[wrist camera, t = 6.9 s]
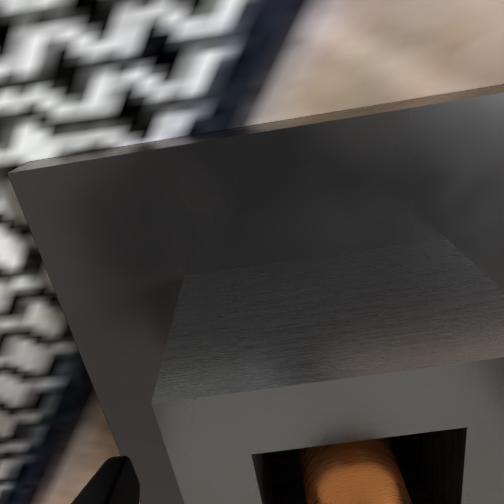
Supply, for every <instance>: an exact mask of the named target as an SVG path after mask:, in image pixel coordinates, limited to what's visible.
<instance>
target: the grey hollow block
mask: <svg viewBox="0 0 504 504" xmlns="http://www.w3.org/2000/svg"><path fill="white" fill-rule="evenodd" d="M151 405H152V408H153V411H154V414H155V417H156V420H157V423H158V426H159V429H160V432H161V435H162V438H163V441H164V444H165V447H166V450H167V453H168V456H169V459H170V462H171V465H172V468H173V471H174V474H175V477H176V480H177V483H178V485H179V488H180V491H181V494H182V497H183V500H184V503H185V504H307V503H306V496H305V489H304V482H303V475H302V467H301V460H300V453H299V448H306V447H314V446H322V445H330V444H338V443H346V442H354V441H362V440H370V439H378V438H386V437H388V440H389V443H390V445H391V448H392V451H393V454H394V456H395V459H396V462H397V464H398V467H399V470H400V472H401V475H402V478H403V480H404V483H405V486H406V488H407V491H408V494H409V497H410V499H411V502H412V504H504V292H503V291H502V290H501V289H500V288H499V287H498V286H497V285H496V284H495V283H494V282H493V281H492V280H490V279H489V278H488V277H487V276H486V275H485V274H484V273H483V272H482V271H481V270H480V269H479V268H478V267H477V266H475V265H474V264H473V263H472V262H471V261H470V260H469V259H468V258H467V257H466V256H465V255H464V254H463V253H462V252H460V251H459V250H458V249H457V248H456V247H455V246H454V245H453V244H452V243H451V242H450V241H449V240H448V239H447V238H441V239H434V240H427V241H420V242H414V243H407V244H400V245H393V246H386V247H379V248H373V249H366V250H359V251H352V252H345V253H338V254H332V255H325V256H318V257H311V258H304V259H297V260H291V261H284V262H277V263H270V264H263V265H256V266H250V267H243V268H236V269H229V270H222V271H215V272H209V273H202V274H195V275H188V276H184V278H183V282H182V286H181V290H180V294H179V298H178V302H177V306H176V310H175V313H174V317H173V321H172V325H171V329H170V333H169V337H168V341H167V345H166V349H165V352H164V356H163V360H162V364H161V368H160V372H159V376H158V380H157V384H156V387H155V391H154V395H153V399H152V403H151Z"/></svg>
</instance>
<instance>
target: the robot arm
mask: <svg viewBox="0 0 504 504" xmlns="http://www.w3.org/2000/svg"><path fill="white" fill-rule="evenodd" d="M139 498H140V484H139V480H138V477H137V475H136V472H135V470H134V467H133V465H132V462H131V460H130V458H129V457H128V456H119V457H112V458H109V459H108V460H107V461H106V462H105V463H104V464H103V465H102V466H101V468H100V469H99V470H98V471H97V472H96V474H95V475H94V476H93V477H92V479H91V480H90V481H89V482H88V483H87V485H86V486H85V487H84V488H83V490H82V491H81V492H80V493H79V494H78V496H77V497H76V498H75V499H74V501H73V502H72V503H71V504H139Z"/></svg>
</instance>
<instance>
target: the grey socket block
mask: <svg viewBox="0 0 504 504" xmlns="http://www.w3.org/2000/svg"><path fill="white" fill-rule="evenodd" d="M8 176H9V178H10V181H11V183H12V186H13V188H14V191H15V193H16V196H17V198H18V201H19V203H20V206H21V208H22V211H23V213H24V216H25V218H26V221H27V223H28V225H29V228H30V230H31V233H32V235H33V238H34V240H35V243H36V245H37V248H38V250H39V253H40V255H41V258H42V260H43V263H44V265H45V268H46V270H47V273H48V275H49V278H50V280H51V283H52V285H53V288H54V290H55V293H56V295H57V298H58V300H59V303H60V305H61V308H62V310H63V312H64V315H65V317H66V320H67V322H68V325H69V327H70V330H71V332H72V335H73V337H74V340H75V342H76V345H77V347H78V350H79V352H80V355H81V357H82V360H83V362H84V365H85V367H86V370H87V372H88V375H89V377H90V380H91V382H92V385H93V387H94V390H95V392H96V395H97V397H98V399H99V402H100V404H101V407H102V409H103V412H104V414H105V417H106V419H107V422H108V424H109V427H110V429H111V432H112V434H113V437H114V439H115V442H116V444H117V447H118V449H119V452H120V454H121V456H128V457H129V458H130V460H131V462H132V465H133V467H134V470H135V472H136V475H137V477H138V480H139V484H140V498H139V501H140V504H185V503H184V500H183V497H182V494H181V491H180V488H179V485H178V483H177V480H176V477H175V474H174V471H173V468H172V465H171V462H170V459H169V456H168V453H167V450H166V447H165V444H164V441H163V438H162V435H161V432H160V429H159V426H158V423H157V420H156V417H155V414H154V411H153V408H152V405H151V403H152V399H153V395H154V391H155V387H156V384H157V380H158V376H159V372H160V368H161V364H162V360H163V356H164V352H165V349H166V345H167V341H168V337H169V333H170V329H171V325H172V321H173V317H174V313H175V310H176V306H177V302H178V298H179V294H180V290H181V286H182V282H183V278H184V276H188V275H195V274H202V273H209V272H215V271H222V270H229V269H236V268H243V267H250V266H256V265H263V264H270V263H277V262H284V261H291V260H297V259H304V258H311V257H318V256H325V255H332V254H338V253H345V252H352V251H359V250H366V249H373V248H379V247H386V246H393V245H400V244H407V243H414V242H420V241H427V240H434V239H441V238H447V239H448V240H449V241H450V242H451V243H452V244H453V245H454V246H455V247H456V248H457V249H458V250H459V251H460V252H462V253H463V254H464V255H465V256H466V257H467V258H468V259H469V260H470V261H471V262H472V263H473V264H474V265H475V266H477V267H478V268H479V269H480V270H481V271H482V272H483V273H484V274H485V275H486V276H487V277H488V278H489V279H490V280H492V281H493V282H494V283H495V284H496V285H497V286H498V287H499V288H500V289H501V290H502V291H503V292H504V84H503V85H497V86H491V87H485V88H478V89H472V90H466V91H460V92H454V93H448V94H442V95H435V96H429V97H423V98H417V99H411V100H405V101H399V102H392V103H386V104H380V105H374V106H368V107H362V108H356V109H349V110H343V111H337V112H331V113H325V114H319V115H313V116H306V117H300V118H294V119H288V120H282V121H276V122H270V123H263V124H257V125H251V126H245V127H239V128H233V129H227V130H220V131H214V132H208V133H202V134H196V135H190V136H184V137H177V138H171V139H165V140H159V141H153V142H147V143H141V144H134V145H128V146H122V147H116V148H110V149H104V150H98V151H91V152H85V153H79V154H73V155H67V156H61V157H55V158H48V159H42V160H36V161H30V162H27V163H26V164H24V165H22V166H20V167H18V168H16V169H14V170H12V171H11V172H9V173H8ZM299 453H300V460H301V467H302V475H303V482H304V489H305V496H306V503H307V504H412V502H411V499H410V497H409V494H408V491H407V488H406V486H405V483H404V480H403V478H402V475H401V472H400V470H399V467H398V464H397V462H396V459H395V456H394V454H393V451H392V448H391V445H390V443H389V440H388V437H386V438H378V439H370V440H362V441H354V442H346V443H338V444H330V445H322V446H314V447H306V448H299Z"/></svg>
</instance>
